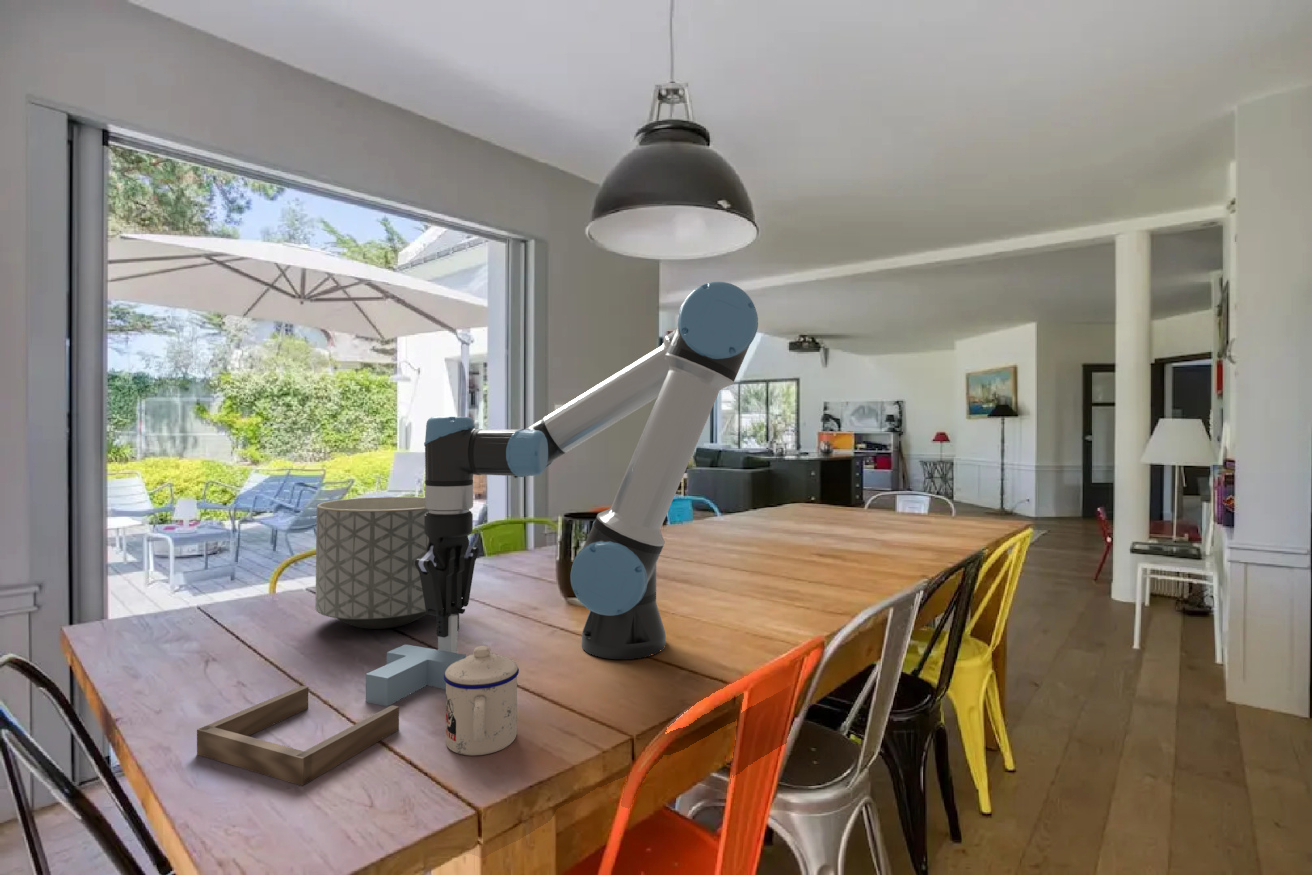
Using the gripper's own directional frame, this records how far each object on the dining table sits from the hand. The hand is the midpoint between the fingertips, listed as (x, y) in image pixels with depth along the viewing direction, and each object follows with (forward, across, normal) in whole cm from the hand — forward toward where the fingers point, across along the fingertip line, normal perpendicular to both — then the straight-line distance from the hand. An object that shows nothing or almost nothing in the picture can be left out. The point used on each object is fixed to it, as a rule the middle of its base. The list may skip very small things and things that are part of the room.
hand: (447, 654), depth 105 cm
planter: (+2, -14, -28) cm, 31 cm away
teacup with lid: (+2, +19, +22) cm, 29 cm away
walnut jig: (+2, +27, +1) cm, 27 cm away
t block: (+2, +9, 0) cm, 10 cm away
